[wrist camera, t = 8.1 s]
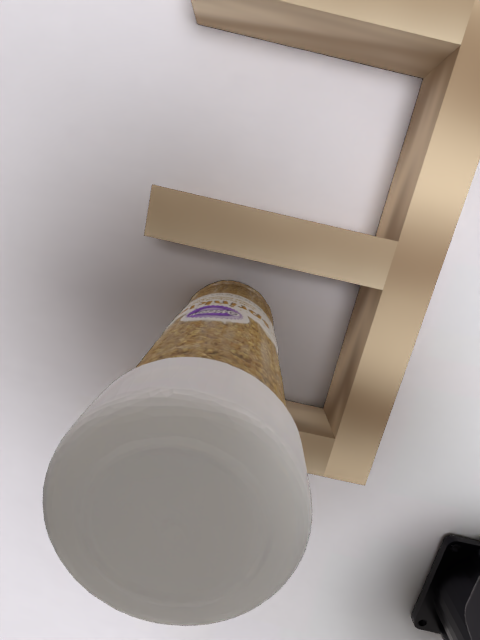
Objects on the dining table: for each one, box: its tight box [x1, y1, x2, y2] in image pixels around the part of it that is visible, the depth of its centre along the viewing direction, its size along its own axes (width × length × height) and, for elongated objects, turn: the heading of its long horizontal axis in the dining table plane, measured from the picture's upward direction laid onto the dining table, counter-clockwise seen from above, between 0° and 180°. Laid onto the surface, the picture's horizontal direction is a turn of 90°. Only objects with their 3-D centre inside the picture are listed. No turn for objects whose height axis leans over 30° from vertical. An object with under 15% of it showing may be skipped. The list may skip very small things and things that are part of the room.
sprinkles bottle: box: [43, 281, 312, 626], centre depth 12 cm, size 5×5×14 cm
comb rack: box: [144, 0, 480, 485], centre depth 16 cm, size 20×12×3 cm, turn 167°
